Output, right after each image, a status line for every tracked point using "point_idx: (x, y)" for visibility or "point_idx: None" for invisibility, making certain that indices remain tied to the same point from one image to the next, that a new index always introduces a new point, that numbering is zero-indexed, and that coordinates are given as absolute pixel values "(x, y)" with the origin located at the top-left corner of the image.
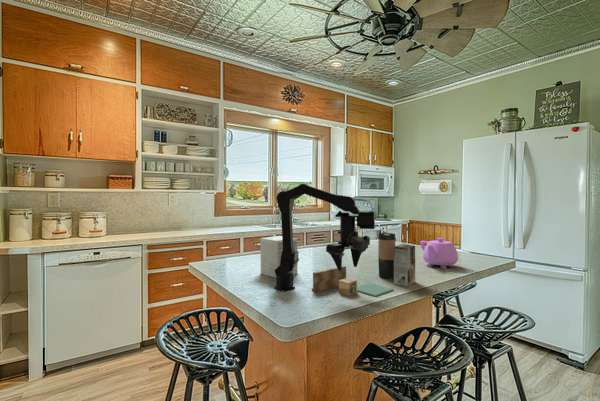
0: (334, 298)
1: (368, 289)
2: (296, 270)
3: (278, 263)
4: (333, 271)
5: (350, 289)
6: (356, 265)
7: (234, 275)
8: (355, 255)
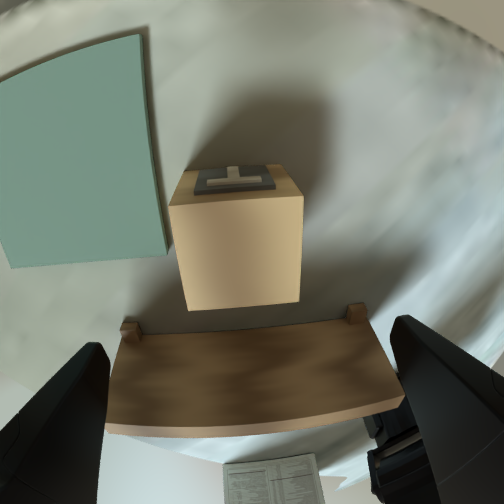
0: (386, 185)
1: (81, 163)
2: (228, 473)
3: (319, 494)
4: (232, 411)
5: (269, 173)
6: (87, 352)
7: (361, 470)
8: (58, 483)
